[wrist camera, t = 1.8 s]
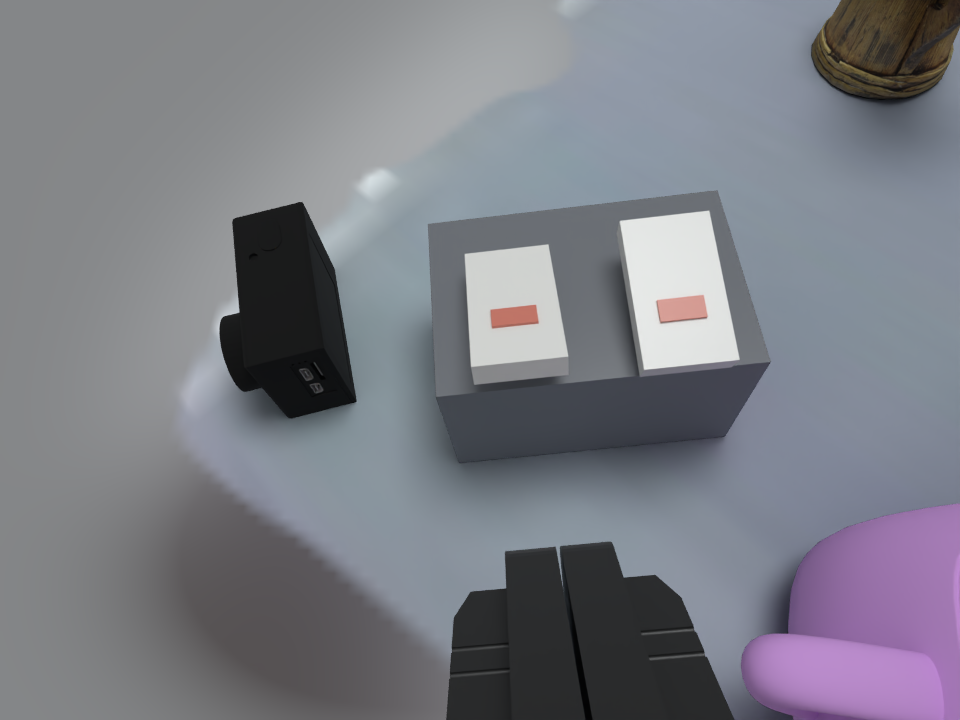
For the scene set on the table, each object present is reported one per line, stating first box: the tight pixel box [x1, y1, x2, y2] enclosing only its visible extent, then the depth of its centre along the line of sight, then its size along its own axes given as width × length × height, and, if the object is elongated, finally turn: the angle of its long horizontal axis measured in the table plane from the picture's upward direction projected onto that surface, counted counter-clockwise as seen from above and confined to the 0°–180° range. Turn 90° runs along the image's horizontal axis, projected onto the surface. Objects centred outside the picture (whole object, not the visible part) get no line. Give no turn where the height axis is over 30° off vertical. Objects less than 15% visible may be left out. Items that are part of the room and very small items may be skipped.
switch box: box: [428, 190, 771, 463], centre depth 37 cm, size 10×15×9 cm, turn 94°
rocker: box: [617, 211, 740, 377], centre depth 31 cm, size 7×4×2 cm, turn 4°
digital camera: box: [220, 202, 357, 418], centre depth 41 cm, size 10×5×7 cm, turn 14°
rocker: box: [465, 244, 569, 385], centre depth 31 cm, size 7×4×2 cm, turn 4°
